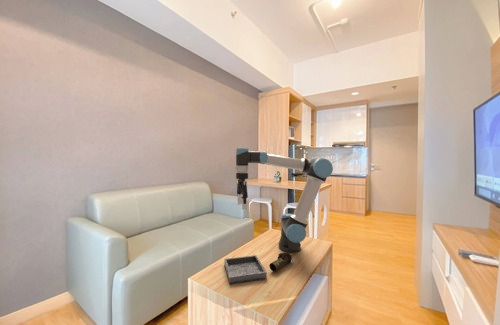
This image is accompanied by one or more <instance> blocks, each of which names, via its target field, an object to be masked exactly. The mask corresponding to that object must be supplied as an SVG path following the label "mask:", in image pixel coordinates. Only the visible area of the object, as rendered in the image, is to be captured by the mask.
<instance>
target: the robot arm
mask: <svg viewBox="0 0 500 325" xmlns="http://www.w3.org/2000/svg"><path fill="white" fill-rule="evenodd" d="M235 154H236V155H235V162H236V163H235V164H236V165H235V172H236V174H235V178H236V179H237V188H236V193H237V205H241V210H247V209H248V208H247V207H248V198H249V195H248V184H247V183H248V181H247V179H249V164H260V165H265V166H272V167H279V168H283V169H284V168H285V169H291V170H295V171H299V172H301V173H304V174H306V178H307V179H306V182H305V185H304V187H303V190H302V193H301V194H300V197H299V199H298V201H297V205H296V207H295V208H294V212H293V213H282V214H281V216H280V238H279V241H278V245H277V246H278V249H279V250H281V251H283V252H285V253H296V252H299V251H301V249H302V245H301V242H303V241H304V240H305V239H306V237H307V230H306V229H307V227H308V225H309V223H308V220H307V219H308V217H309V215H310V213H311V210H312V208H313V205H314V203H315V201H316V198H317V196H318V193H319V191H320V188H321V185H322V184H325V183H326V181H327V179H328V177H330V176H331V175H332V173H333V171H334V169H333V168H334V167H333V164H332V162H331V161H330V159H328V158H323V157H318V158H304V157H303V158H296V157H290V156H289V157H288V156H283V155H278V154H277V155H275V154H270V153H268V152H267V151H265V150H249V148H248V147H237V148H236V152H235Z"/></svg>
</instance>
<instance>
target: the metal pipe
mask: <svg viewBox="0 0 500 325" xmlns="http://www.w3.org/2000/svg"><path fill="white" fill-rule="evenodd" d="M292 261H293V255H292V254H290V252H280V253H279V254H278V256H277V259H276V260H275V261H272V262H270V263H269V269H270V271H272V272H273V273H277V272H278V270H279V269H281V268H282V267H283V266H285V265H286V264H291V262H292Z"/></svg>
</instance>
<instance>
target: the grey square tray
mask: <svg viewBox="0 0 500 325" xmlns="http://www.w3.org/2000/svg"><path fill="white" fill-rule="evenodd" d="M223 265H224V268H225V272H226V273H225V274H226V277H227V281H228V283H229V286H231V285H236V284H243V283H244V284H245V283H250V282H255V281H263V280H267V277H268V276H267V271H266V269H265V267H264V266H263V264H262V262H261V261H260V259H259V257H258V256H257V255H255V254H254V255H245V256H240V257H239V256H238V257H231V258H224V264H223Z"/></svg>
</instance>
